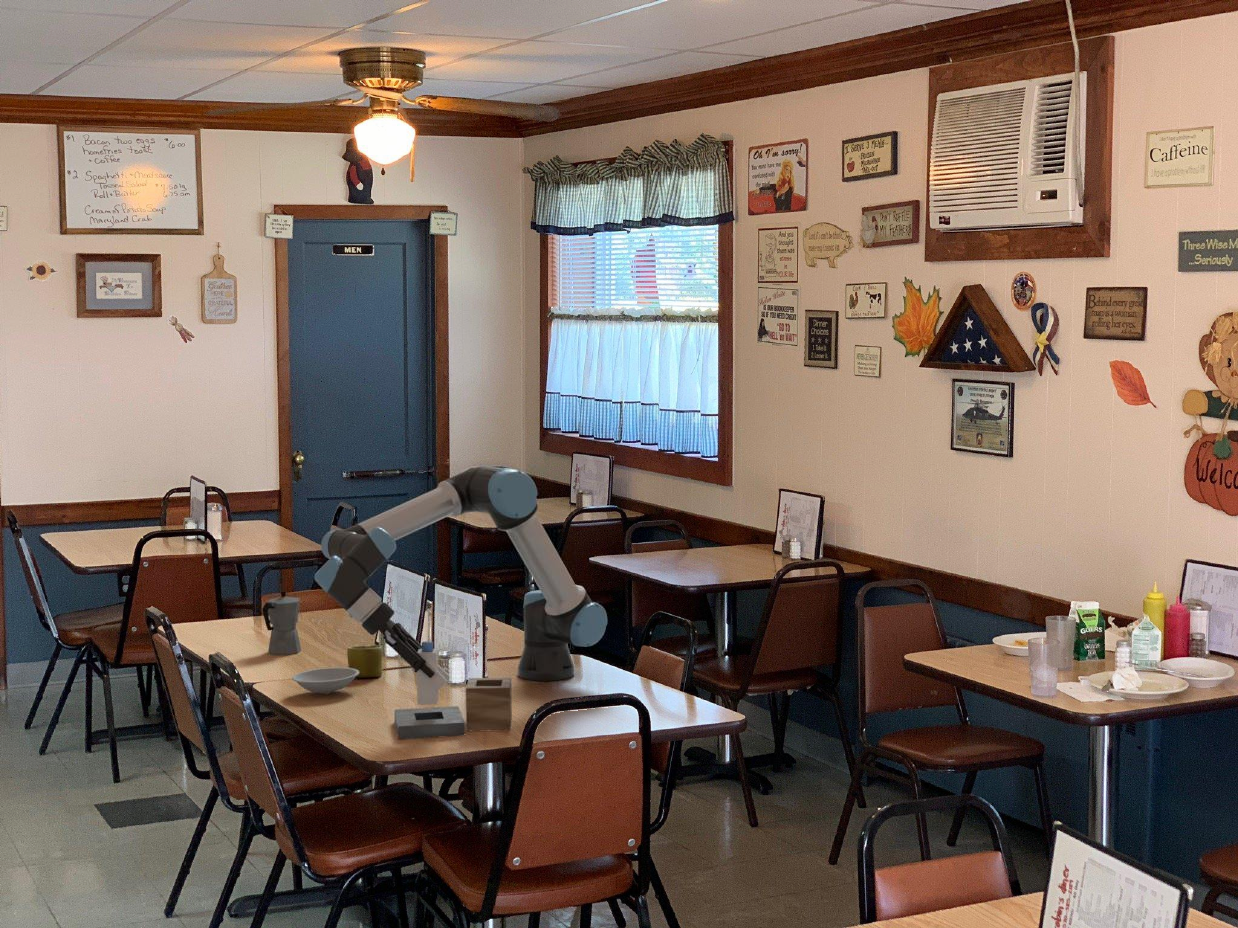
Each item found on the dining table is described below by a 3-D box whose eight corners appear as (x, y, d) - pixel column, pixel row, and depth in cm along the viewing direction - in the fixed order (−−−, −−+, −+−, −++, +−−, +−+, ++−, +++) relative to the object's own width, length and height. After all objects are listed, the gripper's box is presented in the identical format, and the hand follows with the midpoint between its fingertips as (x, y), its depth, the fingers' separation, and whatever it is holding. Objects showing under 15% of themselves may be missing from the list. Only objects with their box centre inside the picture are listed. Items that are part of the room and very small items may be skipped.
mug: (379, 674, 374) (371, 638, 376) (345, 685, 376) (336, 648, 378) (398, 673, 386) (390, 637, 388) (365, 683, 388) (356, 647, 390)
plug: (419, 699, 330) (418, 640, 329) (438, 699, 330) (437, 640, 329) (417, 704, 326) (416, 644, 325) (436, 704, 326) (436, 644, 325)
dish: (309, 704, 351) (308, 684, 350) (281, 694, 361) (280, 674, 361) (371, 693, 362) (370, 673, 362) (342, 683, 373) (341, 664, 373)
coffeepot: (286, 645, 419) (285, 585, 417) (312, 648, 415) (311, 588, 413) (251, 656, 405) (249, 593, 404) (277, 659, 401) (275, 596, 400)
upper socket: (469, 719, 336) (468, 678, 336) (511, 719, 337) (511, 677, 336) (466, 731, 326) (465, 688, 326) (510, 730, 327) (509, 687, 326)
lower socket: (458, 718, 338) (458, 705, 337) (464, 735, 323) (464, 722, 323) (394, 721, 334) (394, 709, 334) (398, 739, 320) (398, 726, 320)
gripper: (365, 616, 335) (436, 684, 337) (354, 631, 317) (429, 703, 319) (387, 594, 334) (458, 662, 336) (378, 607, 317) (452, 679, 319)
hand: (444, 682), depth 328 cm, fingers closed on plug, 4 cm apart
